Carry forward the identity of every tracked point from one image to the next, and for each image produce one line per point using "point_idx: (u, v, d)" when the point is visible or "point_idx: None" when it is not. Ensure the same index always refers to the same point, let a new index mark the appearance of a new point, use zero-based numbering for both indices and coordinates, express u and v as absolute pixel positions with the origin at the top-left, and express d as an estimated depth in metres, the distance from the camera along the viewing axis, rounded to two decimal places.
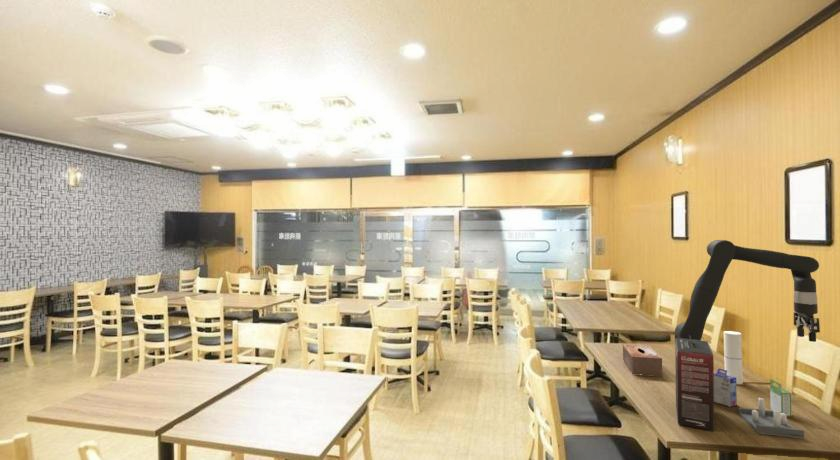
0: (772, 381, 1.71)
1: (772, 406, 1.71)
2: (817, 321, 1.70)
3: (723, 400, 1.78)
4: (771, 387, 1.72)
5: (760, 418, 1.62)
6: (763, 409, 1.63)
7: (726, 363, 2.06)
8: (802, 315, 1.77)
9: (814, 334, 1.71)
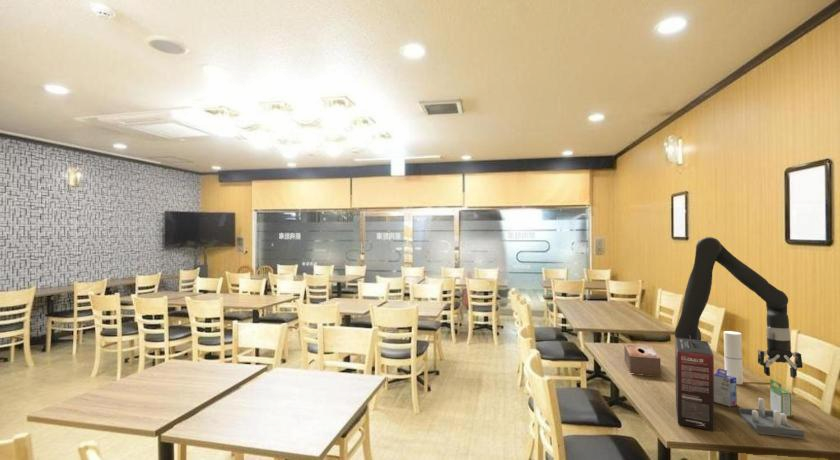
0: (772, 381, 1.71)
1: (772, 406, 1.71)
2: None
3: (723, 400, 1.78)
4: (771, 387, 1.72)
5: (760, 418, 1.62)
6: (763, 409, 1.63)
7: (726, 363, 2.06)
8: (779, 352, 1.69)
9: None
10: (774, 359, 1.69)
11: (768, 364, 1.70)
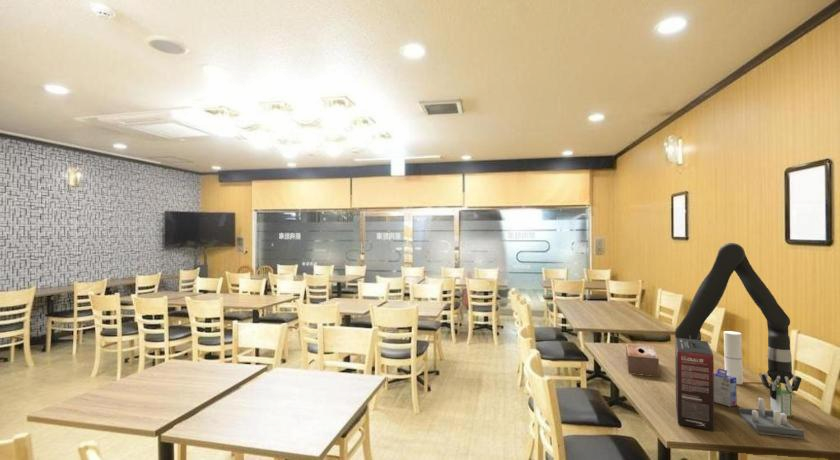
0: None
1: (772, 406, 1.71)
2: None
3: (723, 400, 1.78)
4: None
5: (760, 418, 1.62)
6: (763, 409, 1.63)
7: (726, 363, 2.06)
8: (780, 373, 1.69)
9: (790, 392, 1.69)
10: (777, 381, 1.68)
11: (773, 387, 1.69)
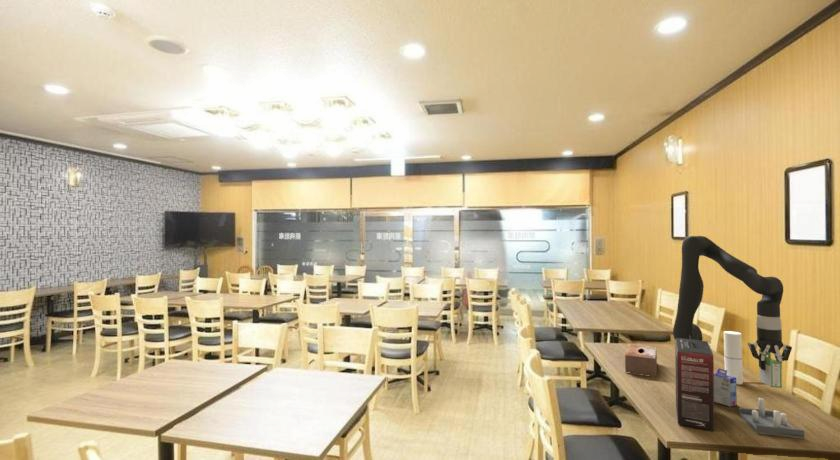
0: None
1: (762, 378, 1.62)
2: None
3: (723, 400, 1.78)
4: None
5: (760, 418, 1.62)
6: (763, 409, 1.63)
7: (726, 363, 2.06)
8: (770, 342, 1.60)
9: (780, 362, 1.60)
10: (766, 350, 1.59)
11: (763, 357, 1.60)
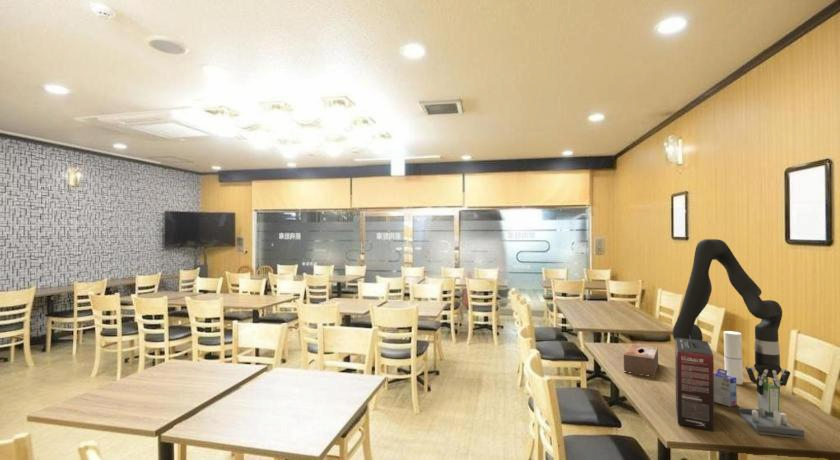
0: None
1: (760, 402, 1.61)
2: None
3: (723, 400, 1.78)
4: None
5: (760, 418, 1.62)
6: (763, 409, 1.63)
7: (726, 363, 2.06)
8: (768, 367, 1.58)
9: (778, 387, 1.58)
10: (764, 375, 1.58)
11: (760, 382, 1.58)
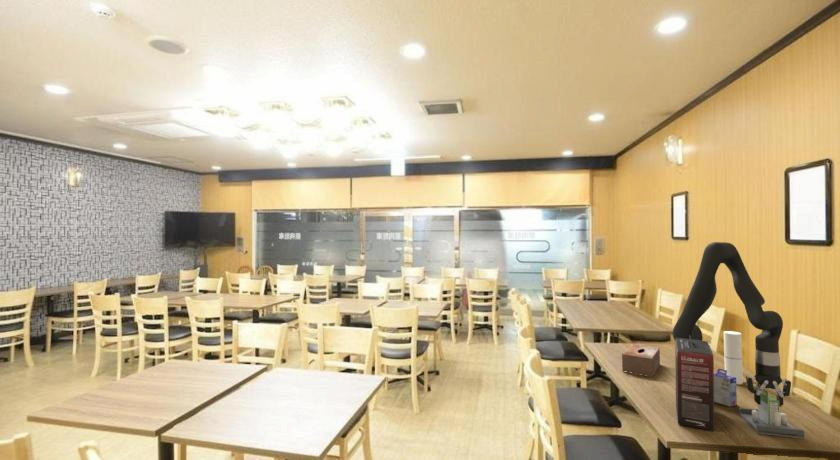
0: None
1: (760, 415, 1.61)
2: None
3: (723, 400, 1.78)
4: None
5: None
6: None
7: (726, 363, 2.06)
8: (768, 378, 1.58)
9: None
10: (763, 385, 1.58)
11: (758, 392, 1.59)
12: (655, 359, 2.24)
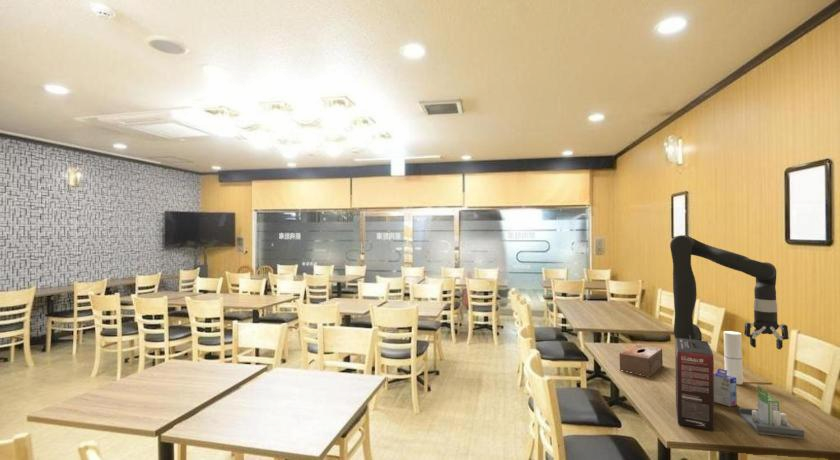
0: (759, 388, 1.61)
1: (760, 415, 1.61)
2: None
3: (723, 400, 1.78)
4: (758, 394, 1.62)
5: None
6: None
7: (726, 363, 2.06)
8: (766, 324, 1.70)
9: None
10: (760, 331, 1.70)
11: (754, 336, 1.71)
12: (654, 359, 2.23)
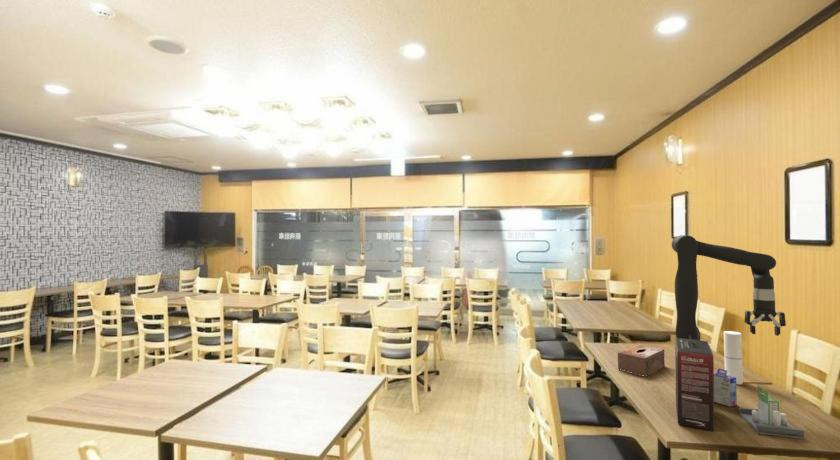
0: (759, 388, 1.61)
1: (760, 415, 1.61)
2: None
3: (723, 400, 1.78)
4: (758, 394, 1.62)
5: None
6: None
7: (726, 363, 2.06)
8: (765, 312, 1.80)
9: None
10: (759, 318, 1.80)
11: (754, 323, 1.81)
12: (654, 360, 2.23)
